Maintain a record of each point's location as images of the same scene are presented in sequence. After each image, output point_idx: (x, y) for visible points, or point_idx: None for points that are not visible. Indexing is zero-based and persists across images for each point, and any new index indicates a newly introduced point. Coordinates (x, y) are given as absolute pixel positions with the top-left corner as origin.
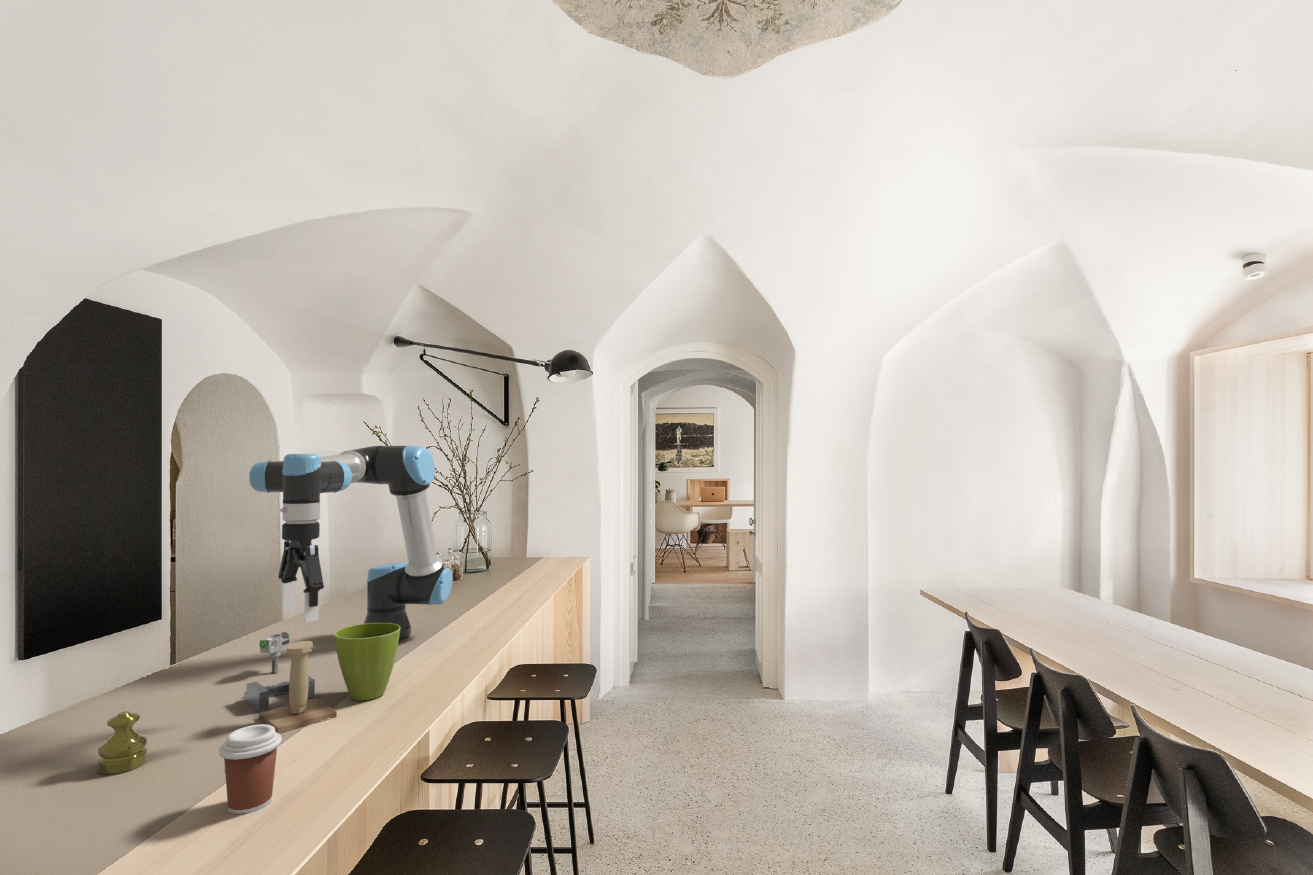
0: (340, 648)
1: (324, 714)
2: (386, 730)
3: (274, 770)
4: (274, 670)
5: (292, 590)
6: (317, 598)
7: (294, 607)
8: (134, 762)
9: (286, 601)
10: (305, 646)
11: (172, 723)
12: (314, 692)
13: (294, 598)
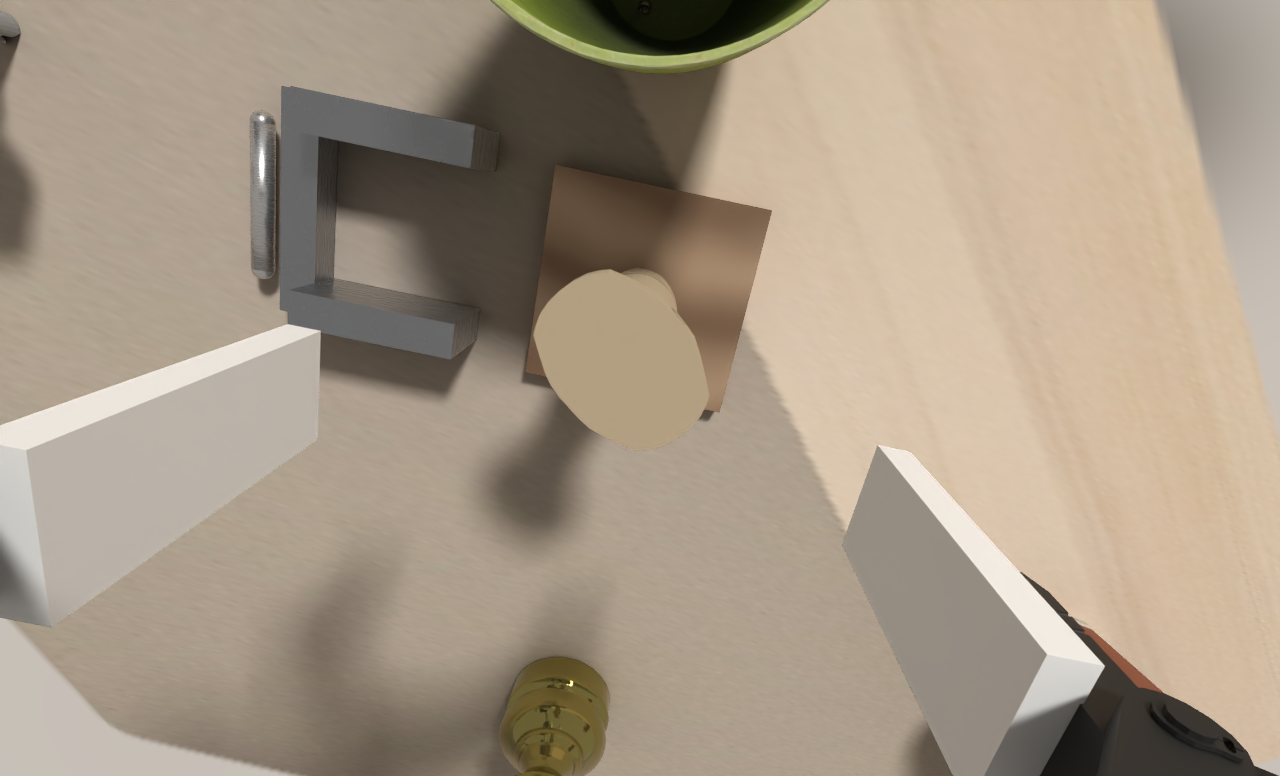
0: (654, 72)
1: (753, 254)
2: (1061, 185)
3: (1143, 675)
4: (3, 34)
5: (153, 445)
6: (1091, 645)
7: (303, 348)
8: (607, 703)
9: (254, 454)
10: (688, 367)
11: (349, 522)
12: (492, 131)
13: (238, 379)
